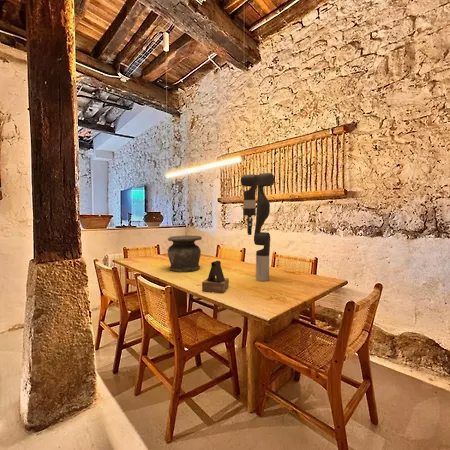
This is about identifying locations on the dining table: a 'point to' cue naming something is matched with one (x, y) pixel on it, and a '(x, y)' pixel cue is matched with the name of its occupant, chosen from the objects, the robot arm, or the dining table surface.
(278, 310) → the dining table surface
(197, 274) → the dining table surface
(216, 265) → the phone stand
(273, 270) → the dining table surface
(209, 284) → the walnut block
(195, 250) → the clay pot
